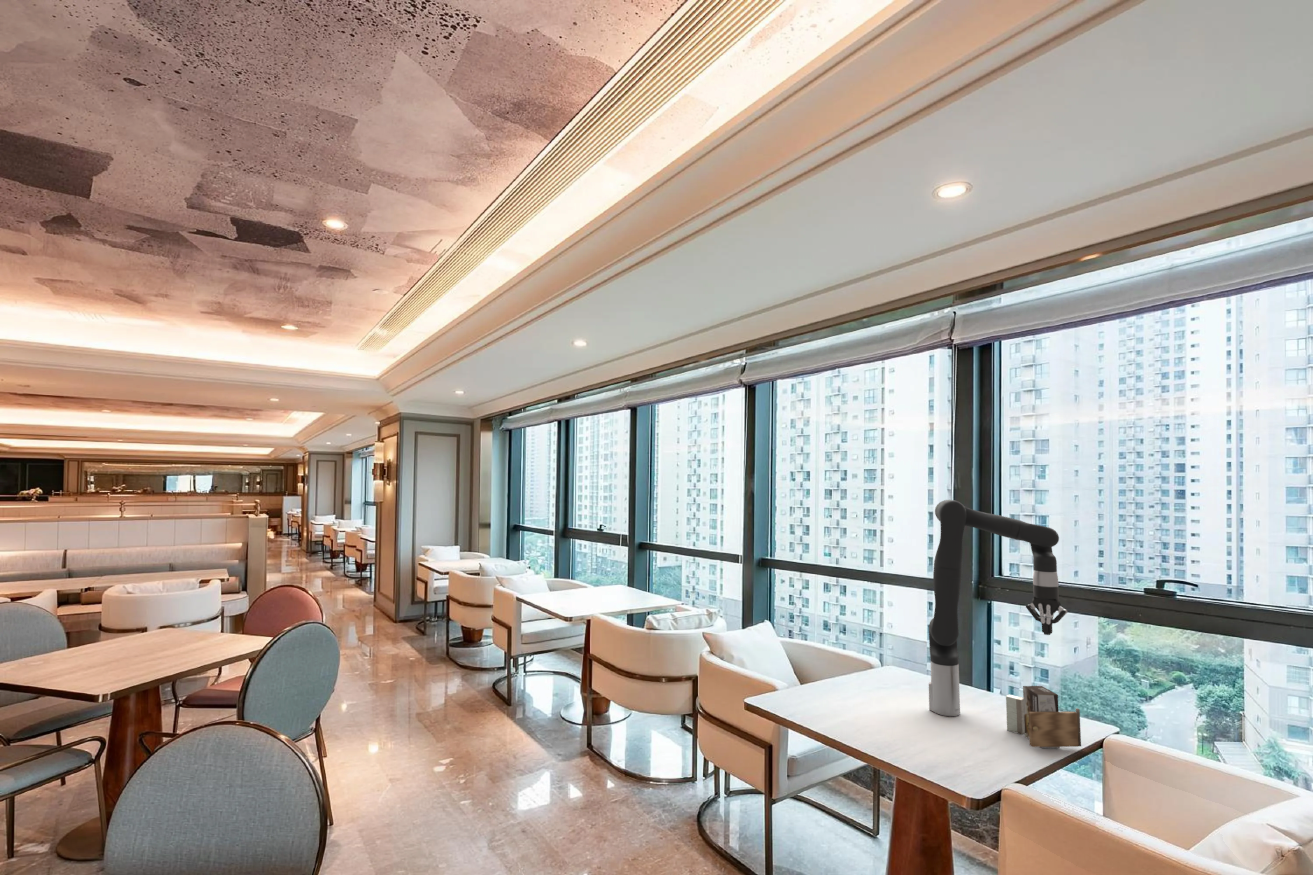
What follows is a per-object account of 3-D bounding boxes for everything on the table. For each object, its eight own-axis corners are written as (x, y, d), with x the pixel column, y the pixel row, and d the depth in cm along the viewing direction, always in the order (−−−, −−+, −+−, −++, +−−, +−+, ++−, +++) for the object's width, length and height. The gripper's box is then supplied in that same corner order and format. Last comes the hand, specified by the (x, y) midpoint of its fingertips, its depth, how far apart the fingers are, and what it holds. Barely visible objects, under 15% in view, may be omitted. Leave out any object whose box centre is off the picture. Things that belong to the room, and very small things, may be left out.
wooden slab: (1034, 748, 192) (1033, 711, 193) (1029, 744, 194) (1028, 708, 195) (1084, 748, 192) (1083, 710, 193) (1079, 744, 195) (1077, 708, 195)
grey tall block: (1006, 730, 208) (1005, 696, 209) (1010, 728, 210) (1009, 694, 211) (1022, 734, 205) (1021, 699, 205) (1025, 732, 207) (1024, 697, 207)
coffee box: (1061, 748, 194) (1059, 694, 195) (1039, 747, 195) (1037, 694, 196) (1044, 736, 203) (1042, 685, 205) (1023, 736, 204) (1022, 684, 205)
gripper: (1020, 582, 223) (1022, 632, 222) (1063, 587, 213) (1065, 639, 212) (1028, 580, 228) (1030, 629, 227) (1070, 585, 218) (1072, 636, 217)
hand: (1047, 634), depth 220 cm, fingers closed
